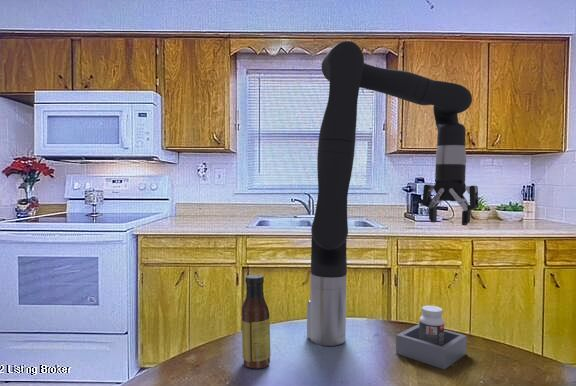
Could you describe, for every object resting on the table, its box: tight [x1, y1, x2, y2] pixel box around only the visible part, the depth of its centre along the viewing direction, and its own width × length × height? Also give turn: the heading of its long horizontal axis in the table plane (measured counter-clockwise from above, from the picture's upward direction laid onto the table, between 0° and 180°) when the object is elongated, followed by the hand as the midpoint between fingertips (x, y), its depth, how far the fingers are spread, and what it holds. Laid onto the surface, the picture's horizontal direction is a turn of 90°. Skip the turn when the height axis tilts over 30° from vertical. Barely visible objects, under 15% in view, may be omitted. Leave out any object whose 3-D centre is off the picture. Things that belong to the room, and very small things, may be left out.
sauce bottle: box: [241, 273, 272, 370], centre depth 95 cm, size 6×6×20 cm
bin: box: [395, 323, 468, 370], centre depth 102 cm, size 12×12×4 cm
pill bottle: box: [418, 305, 445, 346], centre depth 103 cm, size 6×6×10 cm
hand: (448, 223), depth 114 cm, fingers open, 8 cm apart
